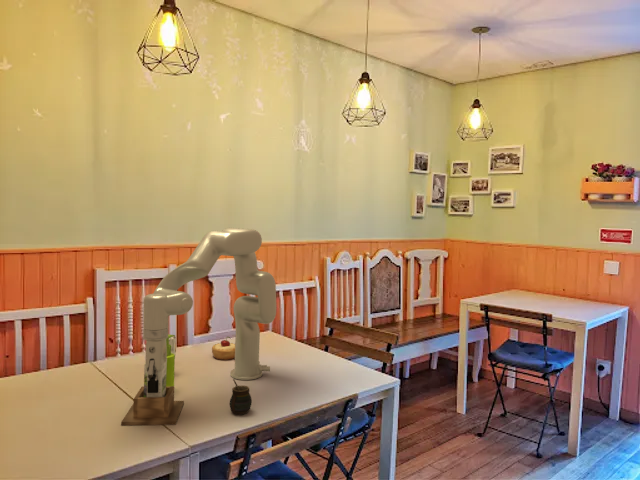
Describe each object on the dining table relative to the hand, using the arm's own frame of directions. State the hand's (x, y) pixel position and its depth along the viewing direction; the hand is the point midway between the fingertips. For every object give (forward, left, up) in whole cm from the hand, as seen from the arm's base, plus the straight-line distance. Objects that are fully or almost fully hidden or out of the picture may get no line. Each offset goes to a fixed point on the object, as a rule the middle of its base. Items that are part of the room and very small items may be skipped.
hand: (155, 388), depth 158 cm
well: (0, 0, -8) cm, 8 cm away
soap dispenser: (0, -20, -9) cm, 22 cm away
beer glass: (+3, -36, -9) cm, 37 cm away
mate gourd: (-27, -1, -9) cm, 28 cm away
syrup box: (0, 0, -6) cm, 6 cm away
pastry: (-18, -59, -9) cm, 63 cm away
